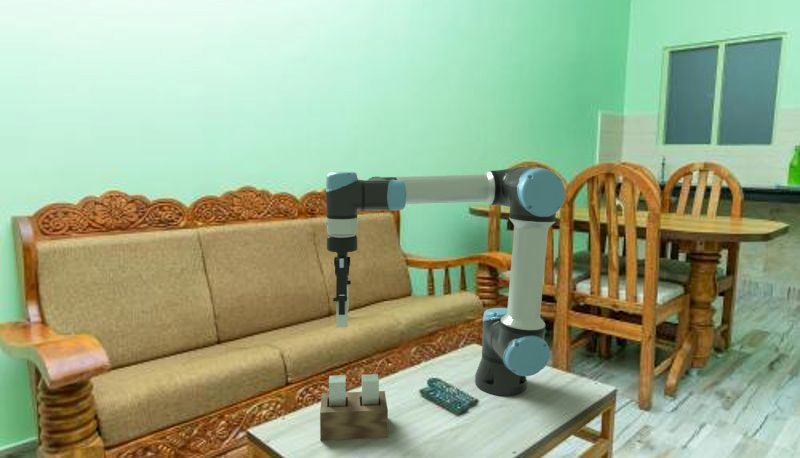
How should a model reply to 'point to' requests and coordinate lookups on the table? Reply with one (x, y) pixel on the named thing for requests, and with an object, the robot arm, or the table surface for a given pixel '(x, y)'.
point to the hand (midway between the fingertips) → (342, 317)
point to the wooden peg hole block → (353, 418)
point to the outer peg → (337, 391)
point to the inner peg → (370, 389)
